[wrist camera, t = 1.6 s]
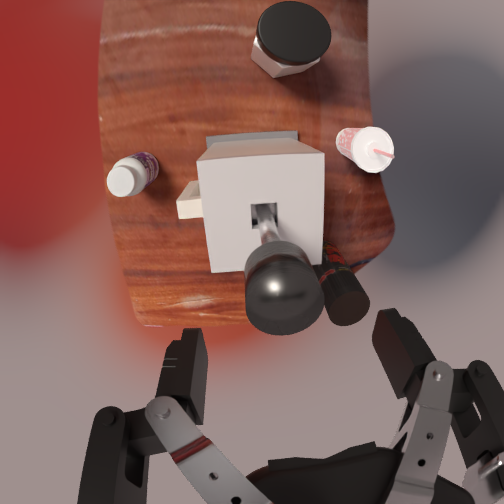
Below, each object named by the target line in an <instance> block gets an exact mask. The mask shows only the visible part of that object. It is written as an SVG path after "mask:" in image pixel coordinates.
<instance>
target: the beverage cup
mask: <svg viewBox="0 0 504 504" xmlns="http://www.w3.org/2000/svg"><path fill="white" fill-rule="evenodd" d="M336 146H337V149H338V150H339V151H340V153H341V154H343V155H345V156H346V157H348V158H349V159H351V160H352V161H354V162H355V163H356V164H357V165H358V167H360V168H361V169H363V170H365V171H367V172H372V173H377V172H380V171H383V170H384V169H385V168H386V167H387V166H388V165H389V164H390V162H391V160H392V159H393V158H394V155H393V152H394V147H393V143H392V139H391V138H390V137H389V135H388V134H387V133H386V132H385V131H383V130H382V129H380V128H376V127H366V128H346V129H343V130H342V131H340V132H339V133H338V135H337V138H336Z"/></svg>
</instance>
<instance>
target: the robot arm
mask: <svg viewBox="0 0 504 504" xmlns="http://www.w3.org/2000/svg"><path fill="white" fill-rule="evenodd" d="M372 342H373V346H374V348H375V351H376V353H377V354H378V357H379V359H380V361H381V363H382V366H383V368H384V370H385V372H386V374H387V376H388V379H389V381H390V383H391V385H392V387H393V390H394V392H395V394H396V397H397V399H400V398H403V397H406V398H407V400H408V401H407V403H406V405H405V408H404V411H403V414H402V417H401V420H400V423H399V426H398V429H397V431H396V434H395V436H394V438H393V440H392V442H391V444H390V445H389V447H388V448H385V447H376V444H375V442H374V441H373V442H370V443H366V444H363V445H359V446H354V447H350V448H348V449H346V450H344V451H342V452H339V453H337V454H335V455H333V456H330V457H328V458H325V459H312V458H299V457H294V458H285V459H275V460H268V466H266V467H262V468H260V469H258V470H255V471H254V472H252V473H250V474H249V475H247V476H246V477H245V476H243V475H242V473H241V472H240V471H239V470H238V469H237V468H236V467H235V466H234V465H233V464H232V463H231V462H230V461H229V460H228V459H227V458H226V457H225V456H224V455H223V453H222V452H221V451H220V450H219V449H218V448H217V447H216V446H215V445H214V444H213V442H212V441H211V440H210V439H208V438H206V437H205V436H204V435H203V434H202V432H201V431H200V430H199V429H198V428H197V426H196V425H203V418H204V404H205V392H206V380H207V368H208V355H207V350H206V346H205V342H204V338H203V333H202V330H201V328H185V329H183V333H182V337H181V340H173V341H172V342H171V344H170V345H169V346H168V347H167V349H166V353H165V357H164V361H163V368H162V370H161V374H160V378H159V383H158V388H157V392H156V396H155V398H154V399H153V400H151V401H150V402H149V403H148V404H147V406H146V407H145V408H142V409H139V410H135V411H130V412H124V413H123V411H122V410H121V409H119V408H117V407H113V406H109V407H105V408H102V409H101V410H99V411H98V412H97V414H96V415H95V418H94V421H93V425H92V429H91V433H90V438H89V442H88V447H87V451H86V456H85V461H84V466H83V471H82V477H81V482H80V488H79V495H78V502H77V504H146V498H147V482H148V468H149V456H150V455H153V454H158V453H163V452H169V454H170V455H171V457H172V459H173V461H174V462H175V464H176V465H177V466H178V468H179V469H180V470H181V472H182V473H183V474H184V476H185V477H186V478H187V479H188V481H189V482H190V483H191V485H192V486H193V487H194V488H195V489H196V491H197V492H198V493H199V494H200V495H201V497H202V498H203V499H204V500H205V501H206V502H207V504H493V503H495V502H497V501H499V500H501V499H503V498H504V391H503V389H502V387H501V385H500V383H499V382H498V380H497V378H496V376H495V375H494V373H493V372H492V370H491V368H490V367H489V365H488V364H487V363H485V362H483V361H480V360H475V361H472V362H471V363H470V364H469V366H468V368H467V369H452V368H451V367H450V366H449V365H448V364H447V363H445V362H442V361H437V360H436V358H435V356H434V355H433V353H432V351H431V350H430V348H429V347H428V345H427V344H426V342H425V340H424V339H422V336H421V334H420V333H419V332H418V330H417V328H416V327H415V325H414V324H413V323H412V322H411V321H410V320H408V319H407V318H406V317H401V316H400V314H399V313H398V311H397V310H396V309H395V308H391V309H385V310H380V311H379V312H378V315H377V318H376V322H375V326H374V330H373V334H372ZM473 402H475V404H476V406H477V408H478V411H479V412H480V415H481V421H480V419H479V416H478V414H477V412H476V410H475V407H474V406H473ZM450 425H451V427H452V429H453V432H454V434H455V437H456V439H457V442H458V445H459V448H460V450H461V453H462V456H463V459H464V462H465V465H466V468H467V471H466V473H465V476H464V480H463V482H462V485H463V487H464V488H465V489H464V488H462V487H460V486H458V485H456V484H454V483H452V482H450V481H449V480H447V479H445V478H443V477H441V476H439V475H438V471H439V468H440V464H441V461H442V458H443V454H444V450H445V446H446V442H447V438H448V434H449V429H450Z"/></svg>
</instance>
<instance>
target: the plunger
mask: <svg viewBox="0 0 504 504" xmlns="http://www.w3.org/2000/svg"><path fill="white" fill-rule="evenodd" d="M250 205H251V219H252V225H258V226H259V232H260V238H261V244H262V245H261V246H259V247H258V248H256V249H255V250H254V251H253V252H252V253H251V254H250V256H249V257H248V259H247V261H246V264H245V268H244V276H245V303H246V314H247V317H248V319H249V321H250V322H251V323H252V325H254V326H255V327H256V328H257V329H259V330H261V331H262V332H265V333H268V334H271V335H290V334H294V333H297V332H300V331H302V330H304V329H306V328H308V327H309V326H310V325H311V324H313V323H314V322H315V321H316V320H317V319H318V317H319V316H320V314H321V312H322V310H323V307H324V293H323V290H322V288H321V286H320V283H319V281H318V279H317V276H316V274H315V272H314V270H313V267H312V265H311V263H310V260H309V258H308V256H307V254H306V253H305V252H304V250H303V249H302V248H300V247H299V246H298V245H296V244H294V243H291V242H288V241H281V240H280V237H279V234H278V231H277V228H276V224H275V223H277V211H276V203H261V204H250Z"/></svg>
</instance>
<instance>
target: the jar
mask: <svg viewBox="0 0 504 504" xmlns="http://www.w3.org/2000/svg"><path fill="white" fill-rule="evenodd" d="M330 42H331V29H330V26H329V24H328V22H327V20H326V19H325V17H324V16H323V15H322V14H321V13H320V12H319V11H318V10H316V9H315V8H313V7H312V6H310V5H307V4H305V3H301V2H296V1H284V2H280V3H276V4H274V5H272V6H270V7H269V8H267V9H266V10H265V11H264V12H263V13H262V15H261V16H260V18H259V21H258V25H257V30H256V37H255V40H254V44H253V49H252V54H251V59H252V60H253V61H254V62H255V63H257V64H258V65H259V66H260V67H261V68H262V69H264V70H265V71H266V72H267V73H268V74H269V75H270V76H272V77H273V78H277V77H281V76H286V75H290V74H295V73H300V72H303V71H305V70H306V69H308V68H309V67H311V66H313V65H314V64H316V63H317V62H319V61H320V57H321V56H322V55H323V54H324V53H325V52H326V50H327V49H328V47H329V45H330Z"/></svg>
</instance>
